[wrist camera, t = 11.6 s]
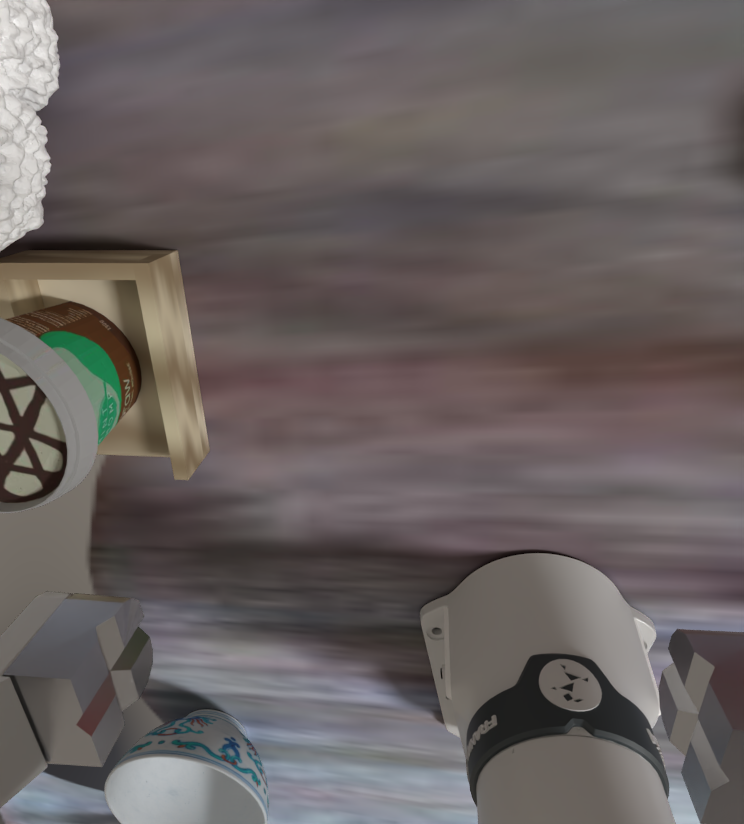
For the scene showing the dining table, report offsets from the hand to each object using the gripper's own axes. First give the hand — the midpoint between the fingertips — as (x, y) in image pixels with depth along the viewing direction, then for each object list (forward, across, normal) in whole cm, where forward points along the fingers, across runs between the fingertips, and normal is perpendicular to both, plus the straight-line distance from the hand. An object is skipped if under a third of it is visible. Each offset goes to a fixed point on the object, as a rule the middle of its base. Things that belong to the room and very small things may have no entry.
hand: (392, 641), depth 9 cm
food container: (+30, +22, +7) cm, 38 cm away
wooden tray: (+30, +22, +7) cm, 38 cm away
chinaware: (+31, +22, +47) cm, 60 cm away
